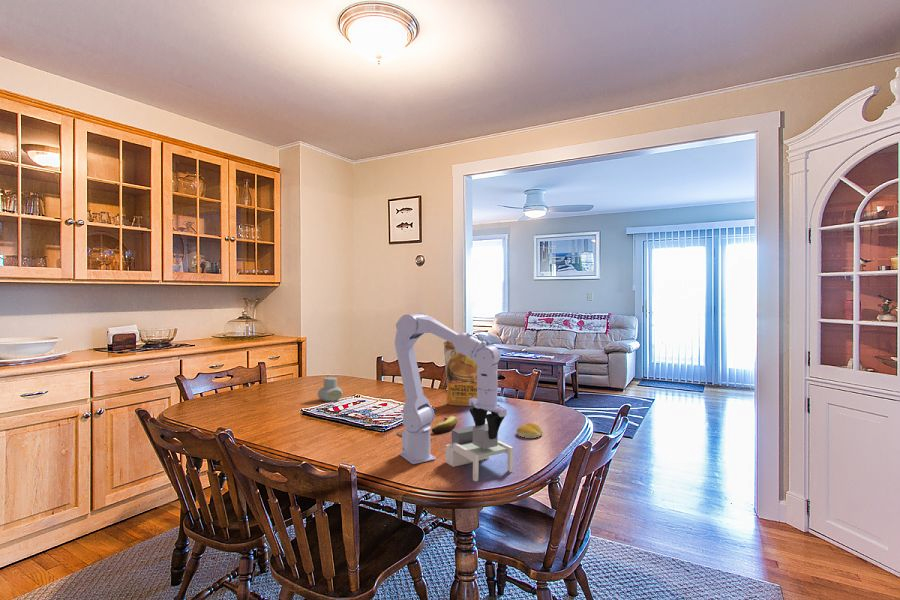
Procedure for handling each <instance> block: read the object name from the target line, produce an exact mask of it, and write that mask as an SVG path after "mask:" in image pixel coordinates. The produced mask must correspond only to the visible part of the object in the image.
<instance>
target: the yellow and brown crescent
mask: <svg viewBox="0 0 900 600" xmlns="http://www.w3.org/2000/svg"><path fill="white" fill-rule="evenodd" d="M443 419H444V421H443V422H439V423H436V424H434V426H432V428H431V431H432V432H431V433H432V434H433V433H435V434H437V435H438V434H439V435H440V434H445V433H448V432H450V431H452V430H453V429H454V428H455V427H456V424H458V419H457V417H456V416H449V417H444V418H443ZM402 433H403V431H397V433H396V435H397V436H400V437H402ZM432 440H434V441H435V443H437V439H436V438H434V437H433V438H432V436H430V442H433V441H432ZM439 440H441V438H440V439H439ZM439 440H438V441H439ZM446 441H447V442H448V444H453V443H452V442H451V441H448V440H446ZM440 445H441V446H442V445H443V443H440Z"/></svg>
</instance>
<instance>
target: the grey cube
mask: <svg viewBox="0 0 900 600" xmlns="http://www.w3.org/2000/svg"><path fill="white" fill-rule="evenodd" d="M472 426H473V444H474V445H476V446H478V447H480V448H482V449H487V448H491V447H495V446H497V444H498V440H499V437H498V436H499V435H498V434H497V437H496V438H495V439H489V433H488V423H485V424H483V425H478V426H475V425H472Z"/></svg>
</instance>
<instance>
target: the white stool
mask: <svg viewBox="0 0 900 600" xmlns="http://www.w3.org/2000/svg"><path fill="white" fill-rule="evenodd" d="M498 445H500V446H502V447H504V448H506V452H505V453H506V454H507V466H506V467H507V468H506V469H507V472H508V471H509V472H508V473H513V472H512V471H514V447H513V446H511V445H509V444H507V443H504V441H500V440H499V439H498ZM505 453H504V454H505ZM489 458H490V456H487V457H483V458H479V455H477V454H476V453H474V452H472V451H470V450H468V449H467V448H465V447H463V446H461V445H459V444H458V443H453V444H451V443H448V444H446V445H445V463H446V464H448V465H449V466H450V467H452V468H453V467H458V466H459V467H460V466H462V465H467V464H472V481H474V482H479V465H480V464H479V463H480V462H481V461H484V459H485V460H488V459H489ZM479 461H480V462H479Z"/></svg>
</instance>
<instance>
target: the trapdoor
mask: <svg viewBox="0 0 900 600" xmlns="http://www.w3.org/2000/svg"><path fill="white" fill-rule="evenodd" d="M473 426H474V425H472V426H466V427H465V426H464V427H460V428H455V429H454V428H453V429H451V443H458V444H459V445H461V446H463V447H465V448H467V449H468V450H470V451H472V452H474V453H476V454H477V455H479V458H483V457H487V456H489V457H490V456H496V455H500V454H503V453H504V454H505V452H506V448H504V447H502V446H500V445H498V444H497V446H495V447H491V448H487V449H482V448H480V447H478V446H476V445H474V444H473Z"/></svg>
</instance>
